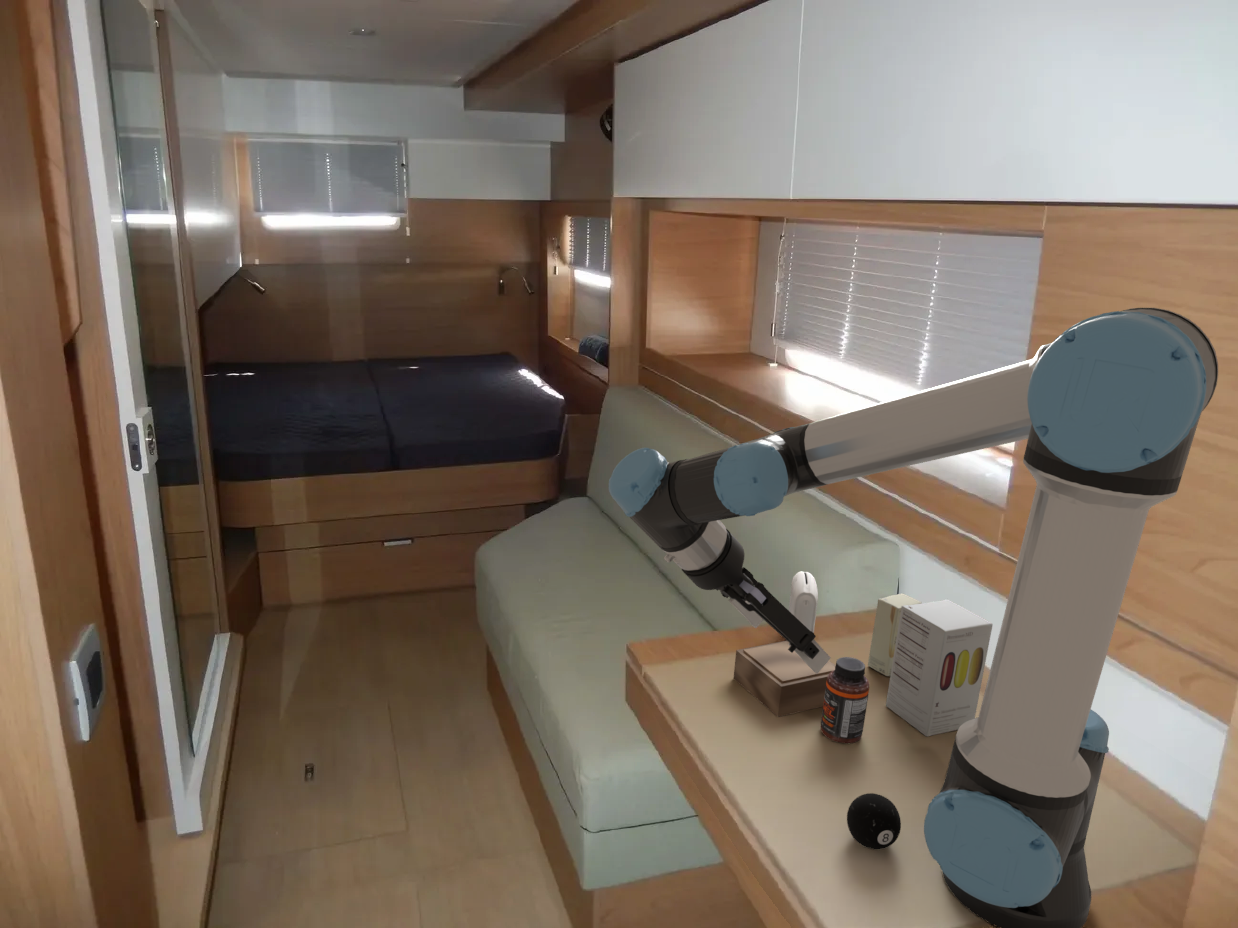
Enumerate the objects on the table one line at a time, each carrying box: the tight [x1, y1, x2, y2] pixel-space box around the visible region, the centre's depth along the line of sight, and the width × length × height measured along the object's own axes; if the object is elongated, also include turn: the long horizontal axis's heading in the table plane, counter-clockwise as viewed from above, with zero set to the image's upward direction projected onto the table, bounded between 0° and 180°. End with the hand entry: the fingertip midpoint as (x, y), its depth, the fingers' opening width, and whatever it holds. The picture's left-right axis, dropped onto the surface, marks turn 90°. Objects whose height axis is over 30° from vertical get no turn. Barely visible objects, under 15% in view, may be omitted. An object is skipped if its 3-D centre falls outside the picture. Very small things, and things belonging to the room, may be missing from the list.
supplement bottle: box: [820, 656, 870, 745], centre depth 126 cm, size 6×6×11 cm
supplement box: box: [885, 598, 993, 737], centre depth 132 cm, size 10×9×17 cm
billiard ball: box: [846, 792, 902, 851], centre depth 105 cm, size 6×6×6 cm
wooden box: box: [733, 640, 836, 717], centre depth 138 cm, size 12×12×5 cm
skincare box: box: [867, 592, 923, 677], centre depth 147 cm, size 6×4×12 cm
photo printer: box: [788, 570, 819, 634], centre depth 154 cm, size 10×4×12 cm, turn 171°
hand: (790, 641), depth 119 cm, fingers open, 13 cm apart
